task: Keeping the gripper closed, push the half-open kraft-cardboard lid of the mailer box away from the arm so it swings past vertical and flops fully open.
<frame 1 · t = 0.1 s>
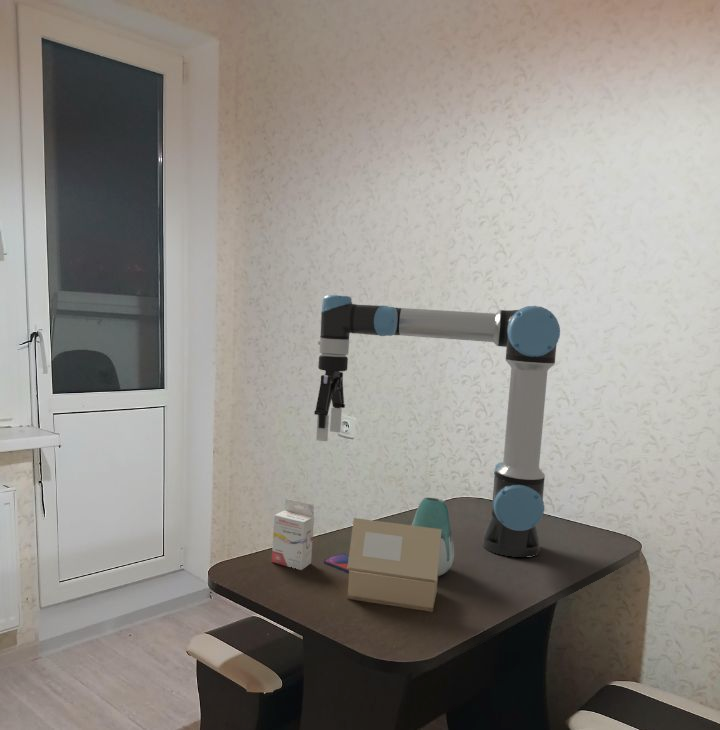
hand: (328, 436, 165), 28 cm above the table, fingers open, 13 cm apart
vase: (427, 572, 151), on the table
smartphone: (355, 569, 151), on the table
mailer box: (393, 595, 137), on the table
lid: (394, 549, 133), point 11 cm above the table, hinge at 70.0°
ink cartridge box: (291, 564, 151), on the table
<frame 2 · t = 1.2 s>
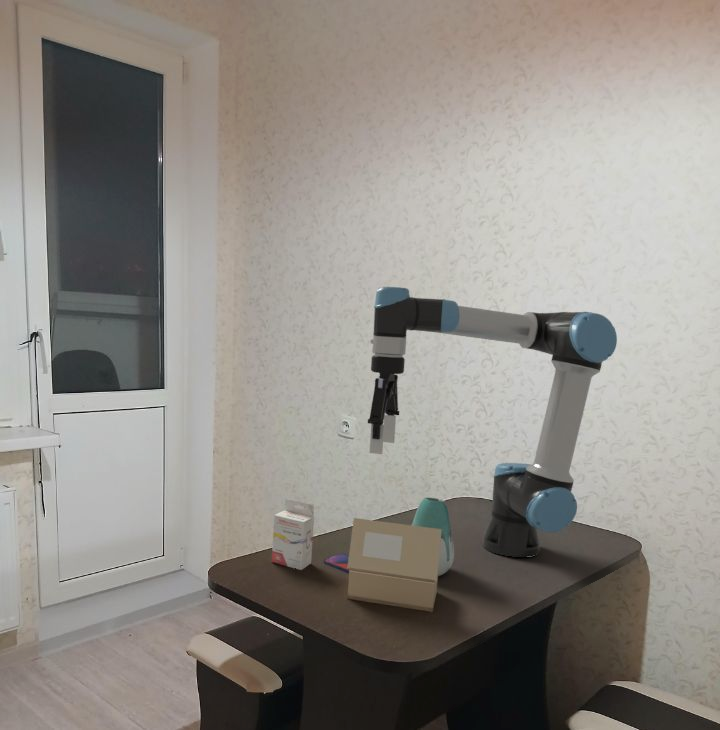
hand: (382, 447, 145), 30 cm above the table, fingers open, 13 cm apart
nothing on the table moved.
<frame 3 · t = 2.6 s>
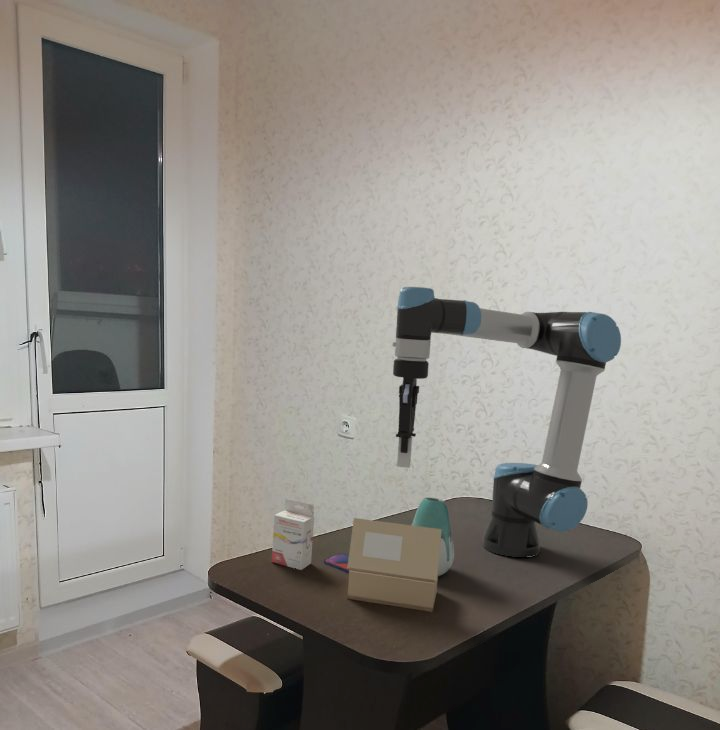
hand: (403, 466, 138), 28 cm above the table, fingers closed
nothing on the table moved.
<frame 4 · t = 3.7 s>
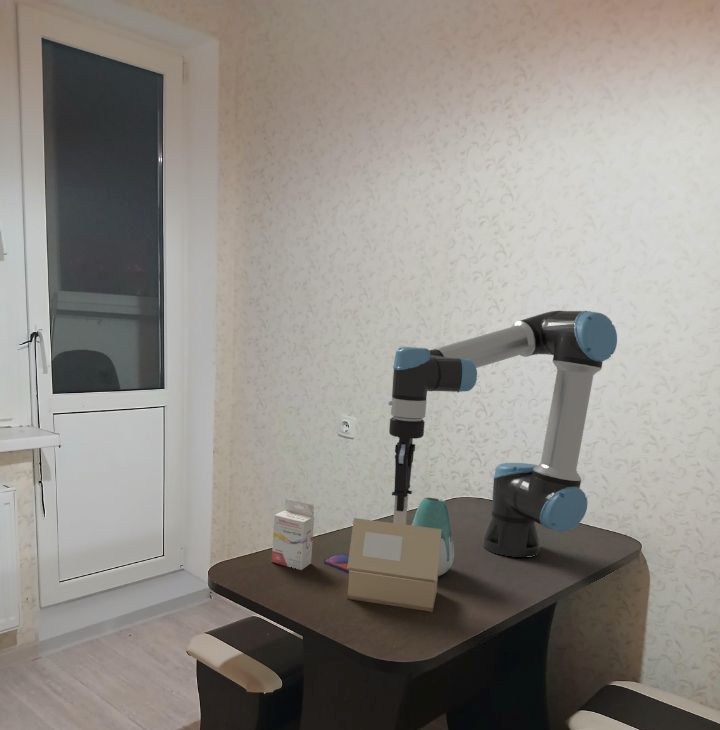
hand: (399, 523, 139), 15 cm above the table, fingers closed
nothing on the table moved.
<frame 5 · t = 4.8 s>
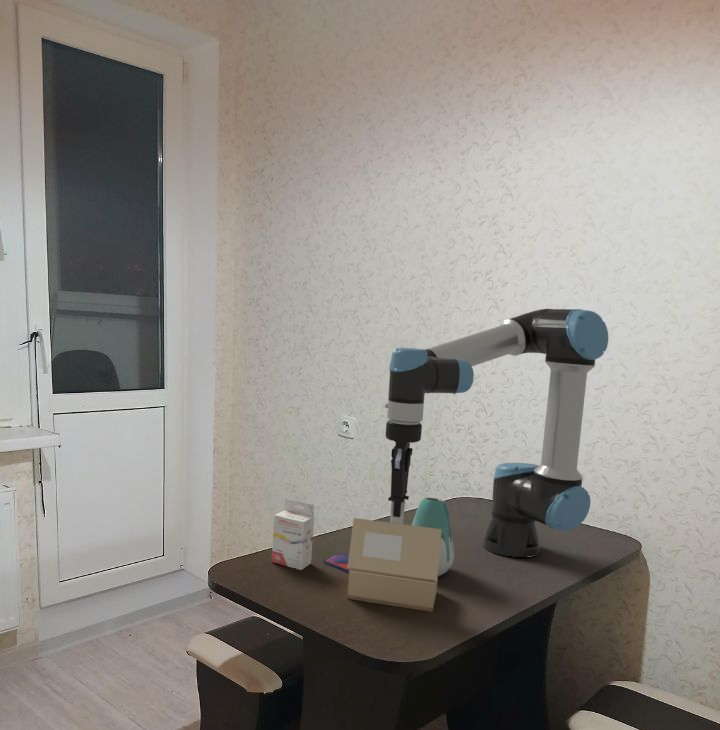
hand: (396, 530, 135), 15 cm above the table, fingers closed
lid: (394, 549, 133), point 11 cm above the table, hinge at 70.5°, touching gripper
everything else where it was.
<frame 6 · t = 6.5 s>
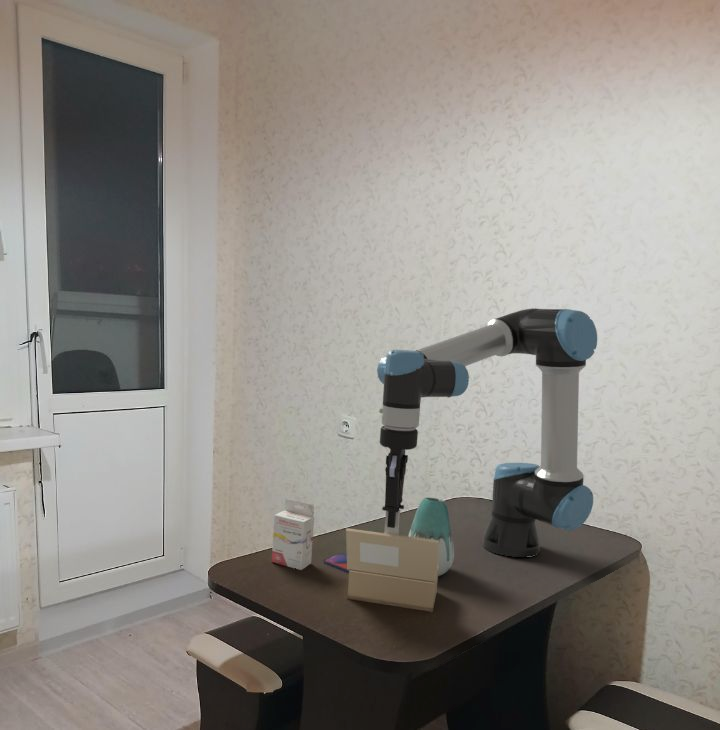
hand: (390, 540, 129), 15 cm above the table, fingers closed
lid: (391, 556, 129), point 11 cm above the table, hinge at 111.7°, touching gripper
everything else where it was.
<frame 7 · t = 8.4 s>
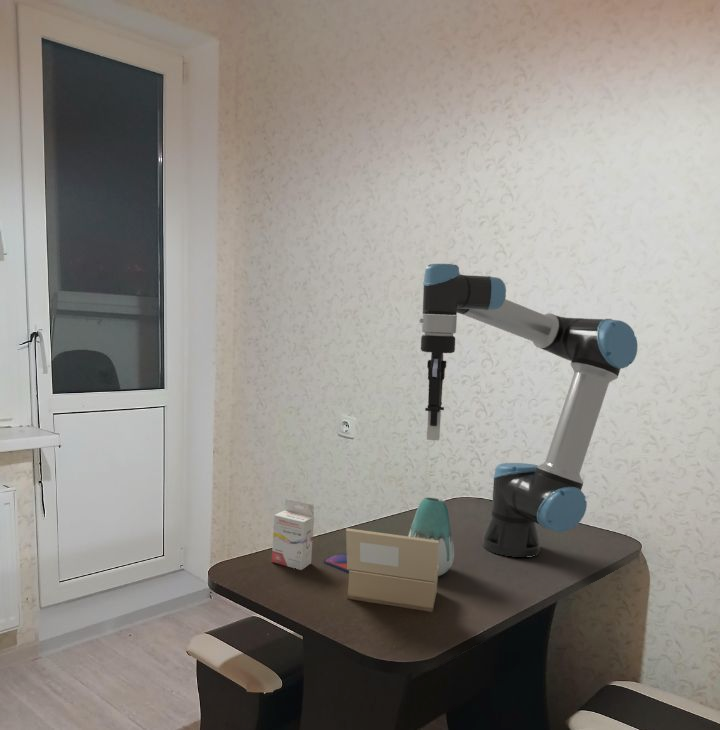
hand: (433, 439, 142), 33 cm above the table, fingers closed
lid: (391, 556, 129), point 11 cm above the table, hinge at 111.8°
everything else where it was.
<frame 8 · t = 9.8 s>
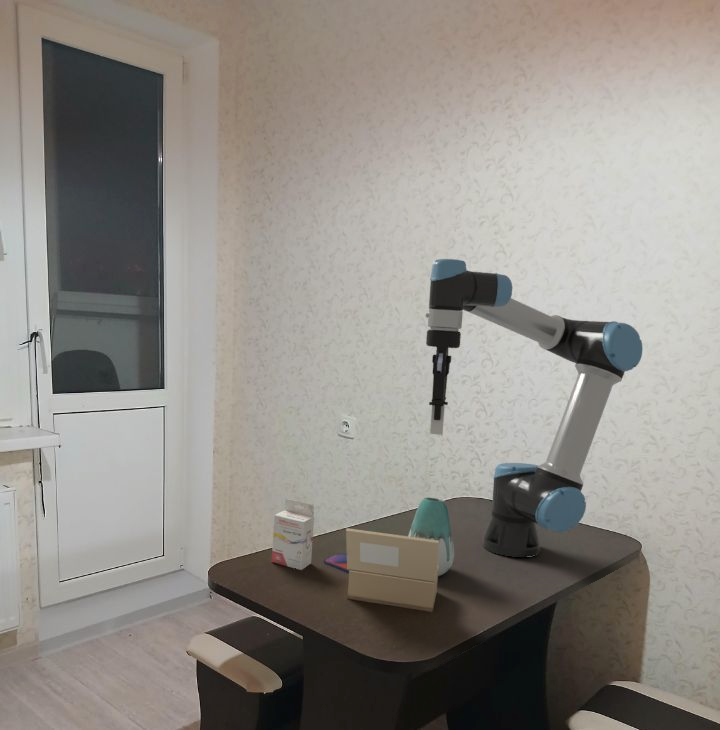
hand: (436, 433, 143), 34 cm above the table, fingers closed
nothing on the table moved.
at the end: lid at +112° (first picture: +70°) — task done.
